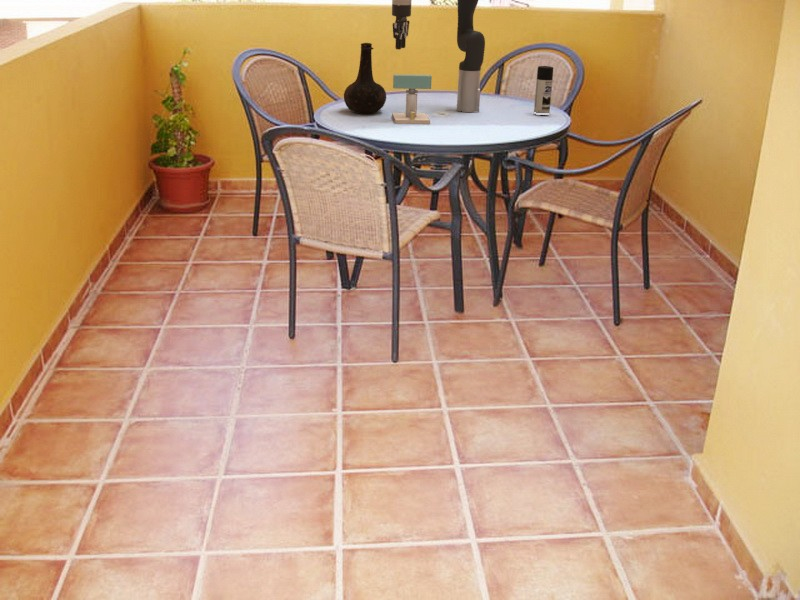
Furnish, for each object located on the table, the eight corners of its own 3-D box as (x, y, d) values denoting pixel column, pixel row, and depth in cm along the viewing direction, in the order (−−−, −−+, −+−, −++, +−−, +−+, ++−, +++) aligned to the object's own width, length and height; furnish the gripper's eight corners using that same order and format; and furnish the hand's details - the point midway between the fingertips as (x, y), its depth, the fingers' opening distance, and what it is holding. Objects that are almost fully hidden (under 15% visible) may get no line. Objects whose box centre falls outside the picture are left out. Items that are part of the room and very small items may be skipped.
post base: (425, 117, 349) (426, 91, 345) (430, 124, 337) (431, 97, 332) (392, 116, 348) (392, 90, 344) (395, 123, 335) (396, 96, 331)
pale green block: (430, 93, 340) (430, 75, 337) (430, 94, 338) (431, 76, 335) (392, 92, 338) (393, 74, 336) (393, 93, 336) (394, 75, 333)
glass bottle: (346, 116, 345) (347, 45, 334) (341, 108, 361) (341, 40, 350) (389, 116, 349) (391, 46, 338) (382, 108, 365) (383, 40, 354)
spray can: (542, 116, 358) (546, 68, 350) (530, 114, 362) (534, 66, 354) (552, 115, 362) (557, 67, 354) (540, 112, 366) (545, 65, 358)
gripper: (398, 1, 337) (397, 46, 344) (386, 3, 325) (385, 49, 332) (416, 2, 335) (414, 47, 342) (404, 5, 323) (403, 51, 330)
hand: (400, 48), depth 337 cm, fingers open, 4 cm apart
